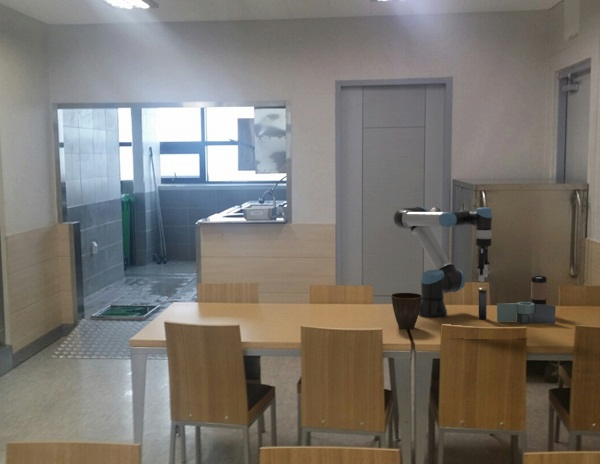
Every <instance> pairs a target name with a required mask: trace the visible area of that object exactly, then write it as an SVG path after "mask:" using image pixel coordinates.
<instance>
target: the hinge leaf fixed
mask: <svg viewBox="0 0 600 464" xmlns="http://www.w3.org/2000/svg"><path fill="white" fill-rule="evenodd" d="M556 307H557V306H556V304H546V305H544V304H535V313H533V314H520V313H517V315H516V323H519V324H525V325H526V324H527V325H530V324H548V325H555V324H556Z"/></svg>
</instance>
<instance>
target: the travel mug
mask: <svg viewBox="0 0 600 464" xmlns="http://www.w3.org/2000/svg"><path fill="white" fill-rule="evenodd" d="M530 280H531V281H530V282H531V283H530V303H534V304H544V305H547V286H548V283H547V281H548V278H547V277H546V276H544V275H535V276H531V279H530Z"/></svg>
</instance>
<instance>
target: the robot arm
mask: <svg viewBox="0 0 600 464" xmlns="http://www.w3.org/2000/svg"><path fill="white" fill-rule="evenodd" d="M492 211H493V210H492V208H491V207H477V208H476V210H468V209H467V210H466V209H465V210H464V209H462V210H459V211H430V210H428V209H427V208H426V207H423V206H415V207H403V208H399V209H398V210H396V211H395V213H394V215H393V223H394V224H395V226H397V228H399V229H403V230H405V229H409V230H410V231H411V233H412V234H413V235H414V236H415V235H416V236H417V239H418V240H419V242H420V244H421V246H422V248H423V249H424V252H425V253H426V255H427V256H428V259H429V261H430V262H431V264H432V266H433V268H434V269H429V270H426V271H423V272H422V274H421V280H420V283H421V285H420V287H421V288H420V289H421V290H420V291H421V294H420V295H422V301H421V306H420V311H419V315H418V317H422V318H423V317H424V318H432V319H434V318H435V319H436V318H437V319H438V318H444V317H447V316H448V309H447V307H446V303H445V300H444V299H445V294H448V293H457V292H459V291H461V290H462V289H463V288H464V287H465V284H466V276H465V275H466V274H464V272H463V271H462V270H461V269H457V268H456V266H455V264H454V263H451V262H450V261H449V259H448V257H447V255H446V253H445V252H444V250H443V248H442V246H441V245H440V243H439V241H438V240H437V237H436V236H435V234H434V232H433V230H432V229H431V227H444V228H451V227H452V228H453V227H464V226H475V227H476V229H475V230H476V231H475V236H476V240H475V244H476V246H478V247H480V248H479V250H478V253H479V255H478V266H477V267H476V268H477V269H478V282H482V283H483V282H485V278H488V276H489V275H488V268H489V265H490V262H489V247H491V246H492V234H493V233H494V232H493V231H492V224H493V223H492V221H493V213H492Z"/></svg>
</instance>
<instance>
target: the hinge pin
mask: <svg viewBox="0 0 600 464" xmlns="http://www.w3.org/2000/svg"><path fill="white" fill-rule="evenodd" d="M477 291H478V320H483V321H484V320H487V319H488V318H487V310H488V309H487V304H488V302H487V301H488V299H487V298H488V295H487V294H488V291H489V287H483V286H482V287H481V286H480V287H479V286H478V287H477Z"/></svg>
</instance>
